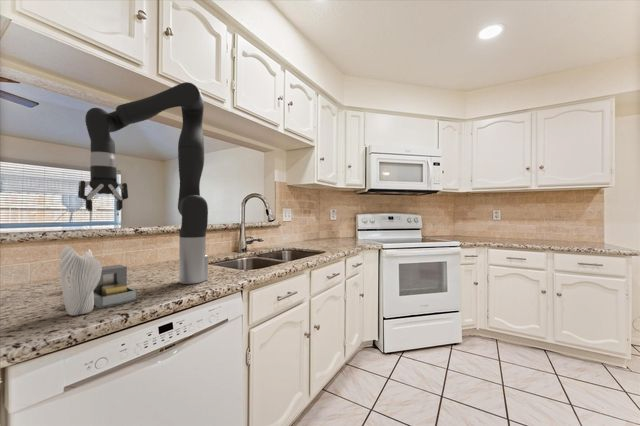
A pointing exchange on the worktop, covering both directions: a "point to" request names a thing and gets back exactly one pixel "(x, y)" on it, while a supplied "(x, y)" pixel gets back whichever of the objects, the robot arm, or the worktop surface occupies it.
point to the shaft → (108, 278)
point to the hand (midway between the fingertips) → (104, 210)
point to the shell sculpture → (78, 280)
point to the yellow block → (114, 289)
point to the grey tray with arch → (119, 278)
